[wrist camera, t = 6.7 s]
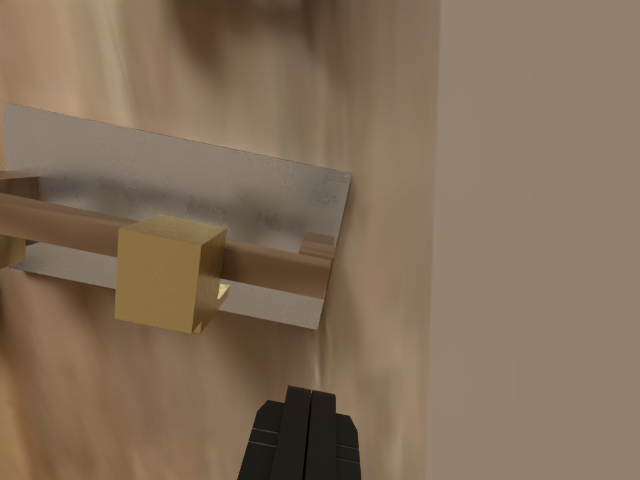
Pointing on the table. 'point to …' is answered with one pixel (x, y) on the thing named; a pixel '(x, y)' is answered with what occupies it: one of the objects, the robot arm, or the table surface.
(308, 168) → the bolt plate
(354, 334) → the table surface
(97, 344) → the table surface
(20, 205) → the bar
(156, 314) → the sliding head
